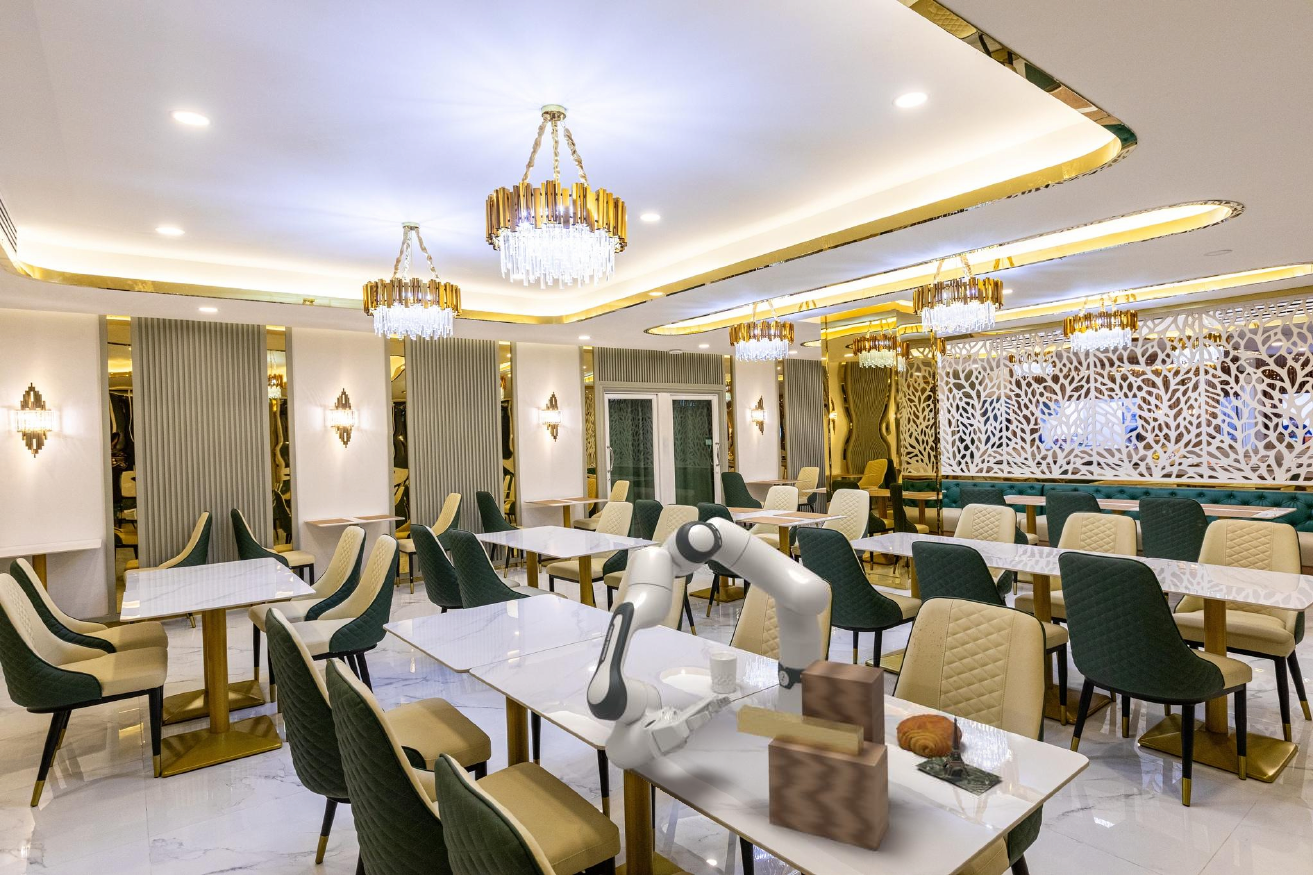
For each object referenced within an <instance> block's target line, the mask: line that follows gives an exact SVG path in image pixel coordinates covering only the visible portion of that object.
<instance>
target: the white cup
mask: <svg viewBox="0 0 1313 875" xmlns="http://www.w3.org/2000/svg"><path fill="white" fill-rule="evenodd" d="M737 656H738V655H737V654H735V653H734V652H730V651H716V652H711V654H709V664H710V666H709V668H710V680H711V689H712V691H713V693H716V694H723V695H724V694H731V693H735V691H736V683H737V669H738V668H737V664H738V662H737V659H738V657H737Z"/></svg>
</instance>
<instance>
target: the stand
mask: <svg viewBox="0 0 1313 875" xmlns="http://www.w3.org/2000/svg"><path fill="white" fill-rule="evenodd" d="M801 677H802V716H808V717H813V718H818V719H824V720H829V721H835V722H840V723H845V724H851V725H856V726H862V727H863V740H864V748H863V750H862V751H861V753H860V754H859V755H858V756H854V755H849V754H844V753H840V752H835V751H830V750H825V749H820V748H815V747H810V746H806V745H801V744H796V743H791V742H786V741H781V740H776V739H772V741H770V742H769V743H768V746H767V747H768V748H767V749H768V750H767V751H768V752H767V754H768V755H767V756H768V804H769V805H768V807H769V808H768V810H769V811H768V813H769V814H768V815H769V824H771V825H775V826H778V827H783V828H786V829H790V830H794V831H798V832H801V833H805V834H810V835H814V836H818V837H820V838H824V839H828V840H831V841H836V842H840V843H844V844H848V845H852V846H856V847H859V848H863V849H866V850H867V849H868V850H870V851H875V852H877V850H878V848H879V845H880V844H881V842H882V840H883V838H884V835H885V833H886V831H887V829H888V827H889V825H890V824H889V822H890V821H889V818H890V816H889V814H890V813H889V767H888V766H889V762H888V760H889V759H888V758H889V757H888V750H889V749H888V745H887V744H886V737H885V734H886V731H885V730H886V728H885V727H886V726H885V725H886V724H885V720H886V719H885V668H880V667H876V666H875V667H874V666H868V665H867V666H866V665H860V664H853V663H852V664H851V663H846V662H838V661H831V660H826V659H825V660H824V659H822V660H818V659H817V660H815V661H814V662H813V663H812V664H811V665H810V666H809V667H807V668H806V669H805V670H804V671H803V672H802V673H801Z"/></svg>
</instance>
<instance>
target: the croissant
mask: <svg viewBox="0 0 1313 875" xmlns="http://www.w3.org/2000/svg"><path fill="white" fill-rule="evenodd" d="M895 729H896V735H897V736H896V739H897V740H896V741H897V743H899V745H900V747H901V748H902V749H903V750H906V751H907V752H909V753H910V752H911V753H912V752H914V753H915V754H916V755H920V756H923V757H928V758H929V759H931V758H933V757H938V756H939V757H941V756H946V757H948V756H949V755H950V753H951V750H952V748H951V747H952V746H953V737H954V720H951V719H950V718H948V717H947V716H944V715H941V714H932V713H931V714H930V713H926V714H925V713H924V714H918V715H913V716H910V717H907V718H906V719H904V720H902V721H900V722H899V723H898V724H897V727H896V728H895ZM957 734H958V744H959V745H960V743H961V741H962V739H963V731H962V729H961V727H960V726H959V725H957Z"/></svg>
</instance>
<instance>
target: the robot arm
mask: <svg viewBox="0 0 1313 875" xmlns="http://www.w3.org/2000/svg"><path fill="white" fill-rule="evenodd" d="M709 560H713V561H716V562H717V563H719V564H720V565H722V566H723V567H725V568H726V569H728V570H729V571H731V572H733V573H734V574H736V575H738V576H739V577H740V578H742V579H744V580H745V581H747V582H748V583H750V584H752V586H753V585H754V586H755V587H756V588H757V589H759V590H760V591H761V592H763V593H765V594H766V595H768V596H770V597H771V598H772V599H774V607H775V613H776V614H775V615H776V621H777V622H776V623H777V628H778V645H779V646H778V649H779V650H778V652H779V659H778V661H777V677H778V689H777V697H776V704H775V711H781V712H786V713H791V714H797V715H802V677H801V673H802V672H803V671H804V670H805V669H806V668H807V667H809V666H810V665H811V664H812V663H813V662H814V661H815V660H817V659H818V660H823V633H822V629H821V627H820V622H819V615H821V614H823V613H824V612H825V611H826V609H827V608H828V606H829V603H830V600H831V599H830V598H831V596H830V592H829V591H830V590H829V589H828V587H827V585H826V584H827V583H825V581H824V580H823V578H822V577H820V576H819V575H818V574H816V573H814V571H811V570H810V569H808V568H807V567H805V566H804V565H802V564H800V563H799V562H797V561H795V560H794V559H793V558H791V557H790V556H788V555H786V554H785V553H783V552H781V550H778V549H777V548H775V547H774V546H772V545H771V544H769V543H768V542H766V541H764V540H763V539H761V538H760V537H759V536H756V535H755V534H753V533H752V532H750V531H749V530H747V529H745V528H744V527H742V526H740V525H738V524H736V523H734V522H732V521H730V520H727V519H726V518H724V517H723V518H722V517H719V516H716V517H712V518H709V519H708V520H707V521H701V520H691V521H688V522H685V523H683V524H682V525H681V526H680V527H679V528H676V529H675V530H674V531H673V532H671V533H670V534H669V536H668V538H666V540H664V541H663V542H662V543H661V544H660V545H659V546H655V545H654V546H653V545H650V546H645V547H642V548H641V549H639V551H638V552H636V554H635V557H634V559H633V562H632V566H631V569H630V573H629V578H628V582H627V589H626V592H625V594H626V595H625V597H624V599H623V601H622V603H620V604H619V605H617V607H616V608H615V609H614V610H613V613H612V615H611V618H610V621H609V623H608V627H607V632H606V634H605V637H604V642H603V645H602V648H601V652H600V656H599V658H598V662H597V665H596V668H595V671H594V673H593V676H592V677H591V680H590V682H589V684H588V687H587V691H586V702H587V706H588V708H589V711H590V713H591V714H592V716H593V717H594V718H596V719H598V720H603V721H612V722H615V723H614V727H613V729H612V732H611V733H610V735H609V736H608V738H607V739H606V740H605V742H604V750H605V754H606V756H607V758H608V760H609V761H610V763H612V765H613V766H615V767H616V768H618V769H621V770H624V771H625V770H626V771H628V770H633V769H636V768H639V767H641V766H645V765H647V764H649V763H652V762H653V761H655V760H659V759H660V758H662V757H665V756H668V755H670V754H673V753H675V752H677V751H680V750H681V749H683V748H685V747H686V746H687V744H688V740H689V738H690V736H691V735H692V734H693V733H694V732H696V731H697V730H699V729H700V728H702V727H703V725H705V724H706V723H708V722H709V721H711V720H712V719H713V718H714V717H715V716H717V715H718V714H719V713H720V712H721V711H723V710H724V709H725V708H726V707H728V706H730V705H731V704H732V702H733V701H732V698H731V697H730V696H729V695H728V694H727V695H725V696H722V697H720V696H719V695H718V693H715V694H712V695H709V696H707V697H705V698H702V699H701V700H699V701H697V702H695V703H693V704H692V705H689V707H687V708H686V709H684V710H683V711H682V710H679V709H676V708H675V707H672V706H665V707H663V708H662V706H663V705H662V699H661V694H660V692H659V690H658V689H657V688H656V687H655V686H654V685H652V684H650V683H648V682H644V681H642V680H639V679H634V678H632V677H628V676H627V675H626V673H625V671H624V668H625V663H626V659H627V656H628V652H629V648H630V644H631V641H632V638H633V637H634V635H635V634H636V633H637V632H638V631H640V630H645V629H651V628H655V627H658V626H659V625H661V624H663V623H664V621H665V620H667V618H668V616H670V612H671V608H672V603H673V593H674V592H673V591H674V582H675V579H682V578H685V577H688V576H689V575H690V574H693V573H695V572H696V571H698V570H700V568H702V566H703V565H704V564H705V563H706V562H708V561H709Z"/></svg>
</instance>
